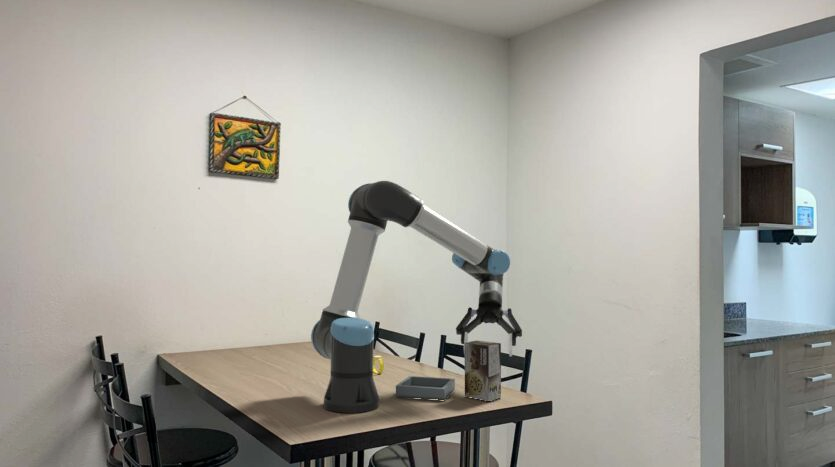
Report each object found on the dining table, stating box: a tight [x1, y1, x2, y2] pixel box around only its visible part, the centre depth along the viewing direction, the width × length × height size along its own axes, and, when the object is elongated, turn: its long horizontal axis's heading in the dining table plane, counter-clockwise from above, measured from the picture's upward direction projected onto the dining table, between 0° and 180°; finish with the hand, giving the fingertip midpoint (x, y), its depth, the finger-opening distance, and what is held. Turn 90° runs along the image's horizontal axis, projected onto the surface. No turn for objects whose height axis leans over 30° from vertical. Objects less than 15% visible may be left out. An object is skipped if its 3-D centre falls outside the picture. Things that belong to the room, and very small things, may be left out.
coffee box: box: [463, 340, 502, 402], centre depth 179 cm, size 9×6×16 cm
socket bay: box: [395, 375, 456, 401], centre depth 183 cm, size 14×14×4 cm
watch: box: [373, 355, 384, 375], centre depth 214 cm, size 6×3×6 cm, turn 37°
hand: (487, 352), depth 184 cm, fingers open, 13 cm apart
